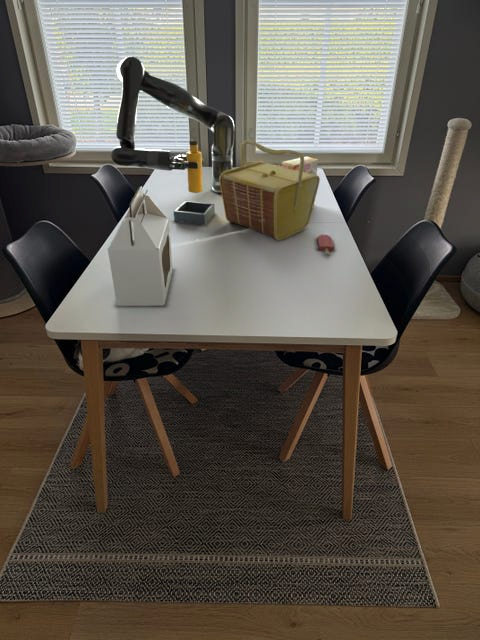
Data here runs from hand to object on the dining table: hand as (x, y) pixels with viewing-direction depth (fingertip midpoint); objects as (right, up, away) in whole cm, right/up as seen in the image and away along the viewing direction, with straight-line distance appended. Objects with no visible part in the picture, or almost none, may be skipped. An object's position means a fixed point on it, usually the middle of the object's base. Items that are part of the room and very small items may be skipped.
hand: (200, 163), depth 176 cm
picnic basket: (+26, -25, -1) cm, 36 cm away
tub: (-3, -20, +5) cm, 21 cm away
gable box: (-12, -52, -41) cm, 67 cm away
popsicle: (+46, -36, -16) cm, 60 cm away
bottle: (-3, -9, +7) cm, 11 cm away
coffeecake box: (+40, -13, +18) cm, 45 cm away
